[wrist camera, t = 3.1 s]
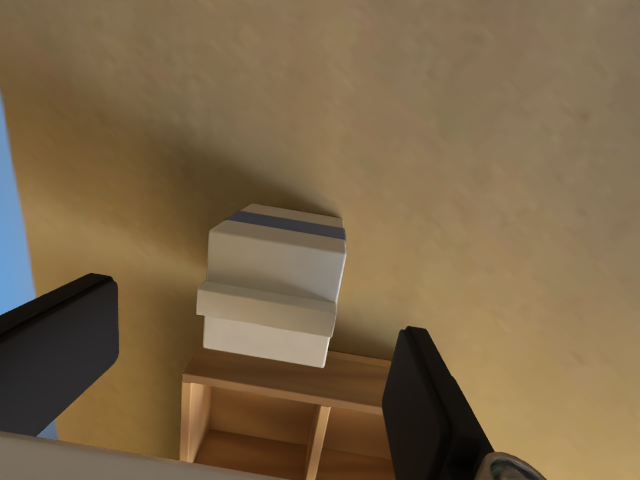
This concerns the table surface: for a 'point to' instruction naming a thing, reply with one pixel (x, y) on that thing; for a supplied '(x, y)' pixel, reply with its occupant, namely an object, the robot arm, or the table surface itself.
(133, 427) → the table surface
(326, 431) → the compartment tray
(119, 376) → the table surface
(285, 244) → the milk carton
